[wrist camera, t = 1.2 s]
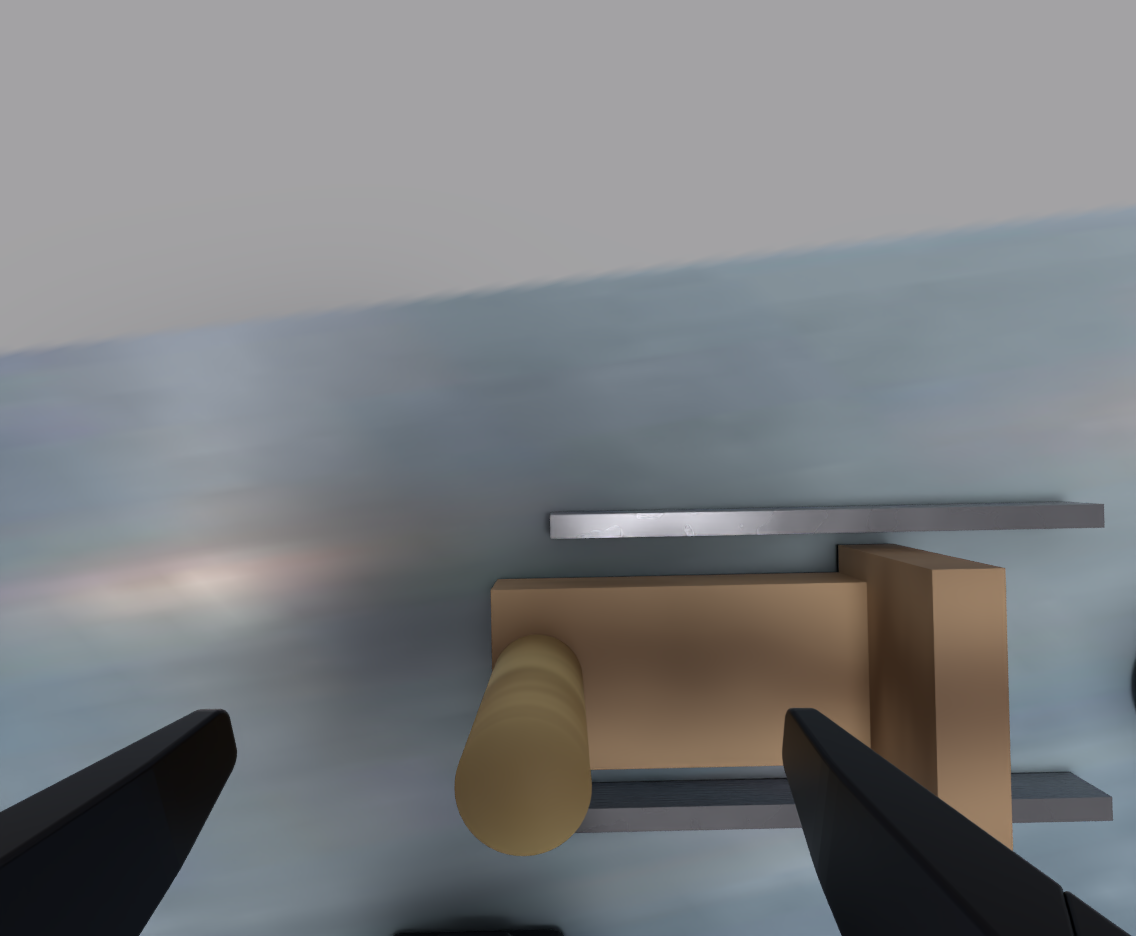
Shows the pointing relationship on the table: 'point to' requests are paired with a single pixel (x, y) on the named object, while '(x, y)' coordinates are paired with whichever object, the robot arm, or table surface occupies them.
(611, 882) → the table surface
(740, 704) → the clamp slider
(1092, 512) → the clamp rails
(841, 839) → the robot arm
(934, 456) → the table surface
